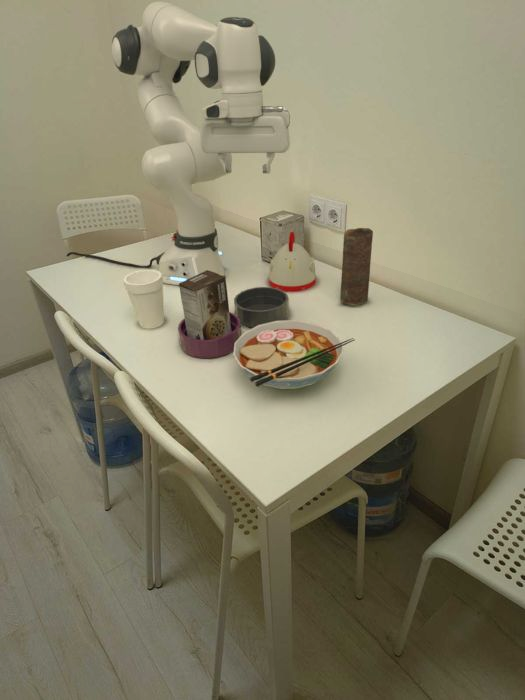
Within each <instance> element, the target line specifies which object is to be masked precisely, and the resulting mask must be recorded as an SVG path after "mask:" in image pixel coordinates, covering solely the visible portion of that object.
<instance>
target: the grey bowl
mask: <svg viewBox="0 0 525 700" xmlns="http://www.w3.org/2000/svg"><path fill="white" fill-rule="evenodd" d="M289 301H290V300H289V296H288V294H287V293H286V291H282V290H280V289H277V288H273V287H271V286H257V287H251V288H247V289H244V290H242V291H240V292H239V293H237V294H236V295H235V297H234V298H233V303H234V314H235V315H236V316H238V318H239V319H240V322H241V326H243V327H247V328H249V329H252V328H254V327H256V326H258V325H261V324H265V323H270V322H274V321H285V320H287V319H288V318H289V315H290V304H289V303H290V302H289Z"/></svg>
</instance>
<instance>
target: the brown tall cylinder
mask: <svg viewBox="0 0 525 700" xmlns="http://www.w3.org/2000/svg"><path fill="white" fill-rule="evenodd" d="M373 237H374V231H373V229H371V228H369V227H358V228H350V229H347V230H345V231H344V234H343V242H342V243H343V245H342V262H341V263H342V265H341V279H340V282H341V283H340V294H339V295H340V297H339V298H340V301H341V302H342V303H343V304H346V305H355V306H358V305H363V304H366V303H367V302H368V300H369V289H370V277H371V276H370V274H371V260H372V249H373Z"/></svg>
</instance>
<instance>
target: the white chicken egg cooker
mask: <svg viewBox="0 0 525 700" xmlns="http://www.w3.org/2000/svg"><path fill="white" fill-rule="evenodd" d="M295 241H296V236H295V233H294V231H290V233H289V236H288V243H286V244H284V245H282V246H281V247H280V248H279V250H278V251H277V252H276V254H275V255H274V256H273V257H272V259H271V261H270V263H269V274H268V278H269V279H268V280H269V283H268V284H269V286H270V287H272V288H277V289H280V290H282V291H284V292H285V293H286V292H291V293H293V292H302V291H307V290H309V289H311V288H313V287H314V286H315V284H316V282H317V273H316V266H315V261H314V260H315V259H314V257H313V256H311V255H310V254H309V252H308V251H307V250H306V249H305V248H304V247H303V246H302V245H301V244H298V243H296V242H295Z"/></svg>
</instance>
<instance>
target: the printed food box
mask: <svg viewBox="0 0 525 700" xmlns="http://www.w3.org/2000/svg"><path fill="white" fill-rule="evenodd" d="M226 278H227V277H226V276H225V275H224V276H222V275H219V274H217V273H215V272H212V271H209V270H206V271H204V272H202V273H200V274H198V275H196V276H194V277H192V278H189V279H187V280H185V281H183V282H181V283H179V285H178V287H179V292H180V298H181V305H182V310H183V311H182V312H183V316H184V318H185V324H186V329H187V336H188V337H190V338H193V339H198V340H210V339H217V338H220V337H223V336H226V335H228V334H230V333H231V332H232V331H231V322H230V313H229V312H230V305H229V304H230V303H229V295H228V286H227V279H226Z"/></svg>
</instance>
